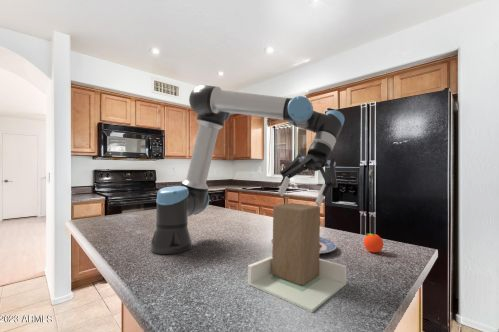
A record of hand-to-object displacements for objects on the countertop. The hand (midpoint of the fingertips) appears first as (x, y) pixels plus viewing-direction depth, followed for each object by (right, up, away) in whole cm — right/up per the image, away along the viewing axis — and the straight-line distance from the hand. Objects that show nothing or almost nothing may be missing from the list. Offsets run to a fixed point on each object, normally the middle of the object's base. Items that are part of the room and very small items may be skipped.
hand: (298, 199), depth 81 cm
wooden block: (-2, -21, -8) cm, 23 cm away
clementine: (+32, -23, +17) cm, 43 cm away
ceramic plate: (+6, -23, +21) cm, 31 cm away
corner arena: (-3, -22, -13) cm, 25 cm away
